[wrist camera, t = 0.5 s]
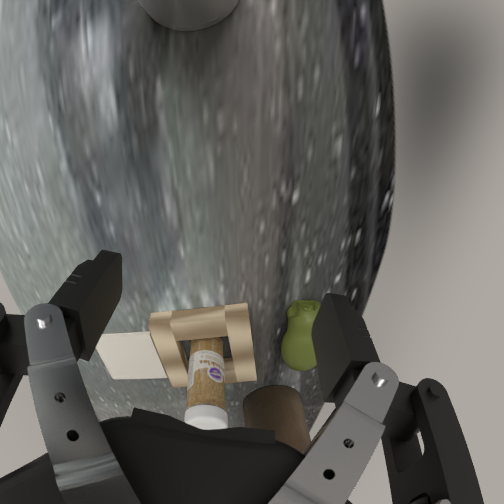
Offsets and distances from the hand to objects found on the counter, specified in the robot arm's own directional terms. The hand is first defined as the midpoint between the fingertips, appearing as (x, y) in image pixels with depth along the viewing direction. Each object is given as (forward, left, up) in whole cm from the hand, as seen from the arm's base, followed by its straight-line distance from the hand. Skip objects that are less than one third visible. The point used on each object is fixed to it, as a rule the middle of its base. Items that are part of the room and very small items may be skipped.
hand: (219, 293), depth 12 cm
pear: (+21, +8, -21) cm, 31 cm away
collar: (+22, -5, -20) cm, 31 cm away
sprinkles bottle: (+22, -5, -21) cm, 31 cm away
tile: (+24, -16, -20) cm, 35 cm away
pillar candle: (+38, +3, -21) cm, 44 cm away
